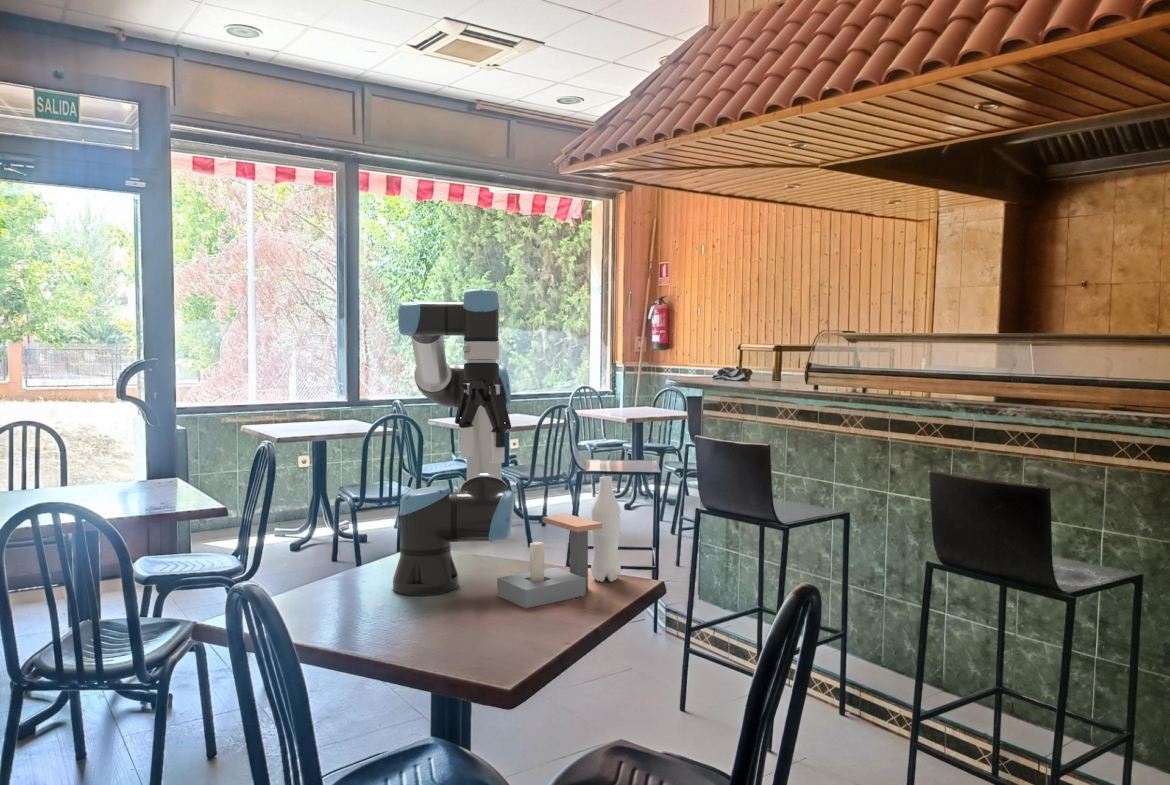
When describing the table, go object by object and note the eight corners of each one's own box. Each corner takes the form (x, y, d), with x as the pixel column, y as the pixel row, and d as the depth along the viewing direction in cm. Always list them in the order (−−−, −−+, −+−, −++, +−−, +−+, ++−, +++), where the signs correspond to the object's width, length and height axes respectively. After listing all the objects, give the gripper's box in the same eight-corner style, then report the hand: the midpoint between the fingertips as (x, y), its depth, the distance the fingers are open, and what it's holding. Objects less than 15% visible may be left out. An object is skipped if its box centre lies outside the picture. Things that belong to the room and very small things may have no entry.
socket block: (497, 595, 184) (497, 578, 184) (555, 583, 193) (555, 567, 193) (525, 608, 174) (525, 590, 174) (585, 595, 184) (585, 578, 184)
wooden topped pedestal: (542, 585, 192) (542, 517, 192) (567, 580, 196) (566, 513, 196) (577, 598, 181) (577, 526, 180) (602, 593, 185) (602, 523, 185)
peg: (539, 593, 185) (539, 541, 185) (547, 596, 183) (546, 543, 182) (527, 595, 183) (527, 543, 183) (535, 599, 181) (535, 545, 180)
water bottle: (625, 578, 198) (625, 476, 197) (610, 585, 192) (610, 480, 191) (600, 574, 202) (600, 474, 201) (585, 580, 196) (585, 477, 195)
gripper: (439, 361, 183) (440, 455, 184) (495, 361, 163) (496, 467, 164) (469, 361, 187) (469, 453, 188) (527, 361, 167) (527, 464, 168)
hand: (482, 459), depth 176 cm, fingers open, 13 cm apart
